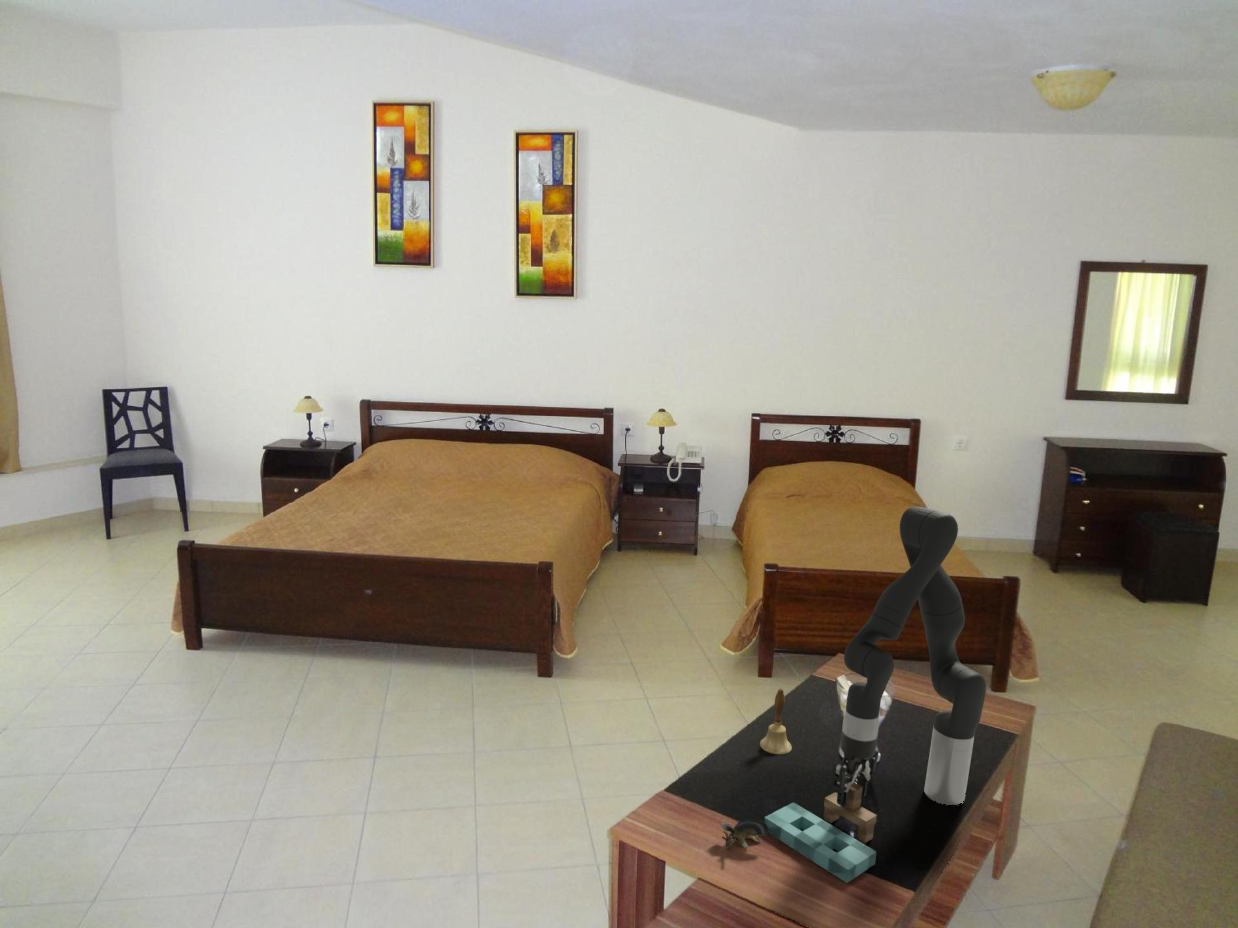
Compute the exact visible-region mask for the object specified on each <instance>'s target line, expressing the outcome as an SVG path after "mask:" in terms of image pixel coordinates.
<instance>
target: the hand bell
mask: <svg viewBox="0 0 1238 928" xmlns="http://www.w3.org/2000/svg"><path fill="white" fill-rule="evenodd" d="M785 697H786V696H785V693H784V689H783V688H778V690H777V693H776V695H775V697H774V708H775V714H774V715H775V716H774V723H772V724H770V725H768V729H767V733H766V735H765V737H763V738H762V739H761V740H760V742H759V746H760V748H761V749H762V750H763V751H765V752H766V753H769V754H773V755H785V754H789V753H790V752H791V751H792V749H793V747H792V744H791V743H790V742H789V741H788V738H787V737H788V736H787V729H786V727H785V725H782V714H783V711H784V708H785V703H786V698H785Z"/></svg>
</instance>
